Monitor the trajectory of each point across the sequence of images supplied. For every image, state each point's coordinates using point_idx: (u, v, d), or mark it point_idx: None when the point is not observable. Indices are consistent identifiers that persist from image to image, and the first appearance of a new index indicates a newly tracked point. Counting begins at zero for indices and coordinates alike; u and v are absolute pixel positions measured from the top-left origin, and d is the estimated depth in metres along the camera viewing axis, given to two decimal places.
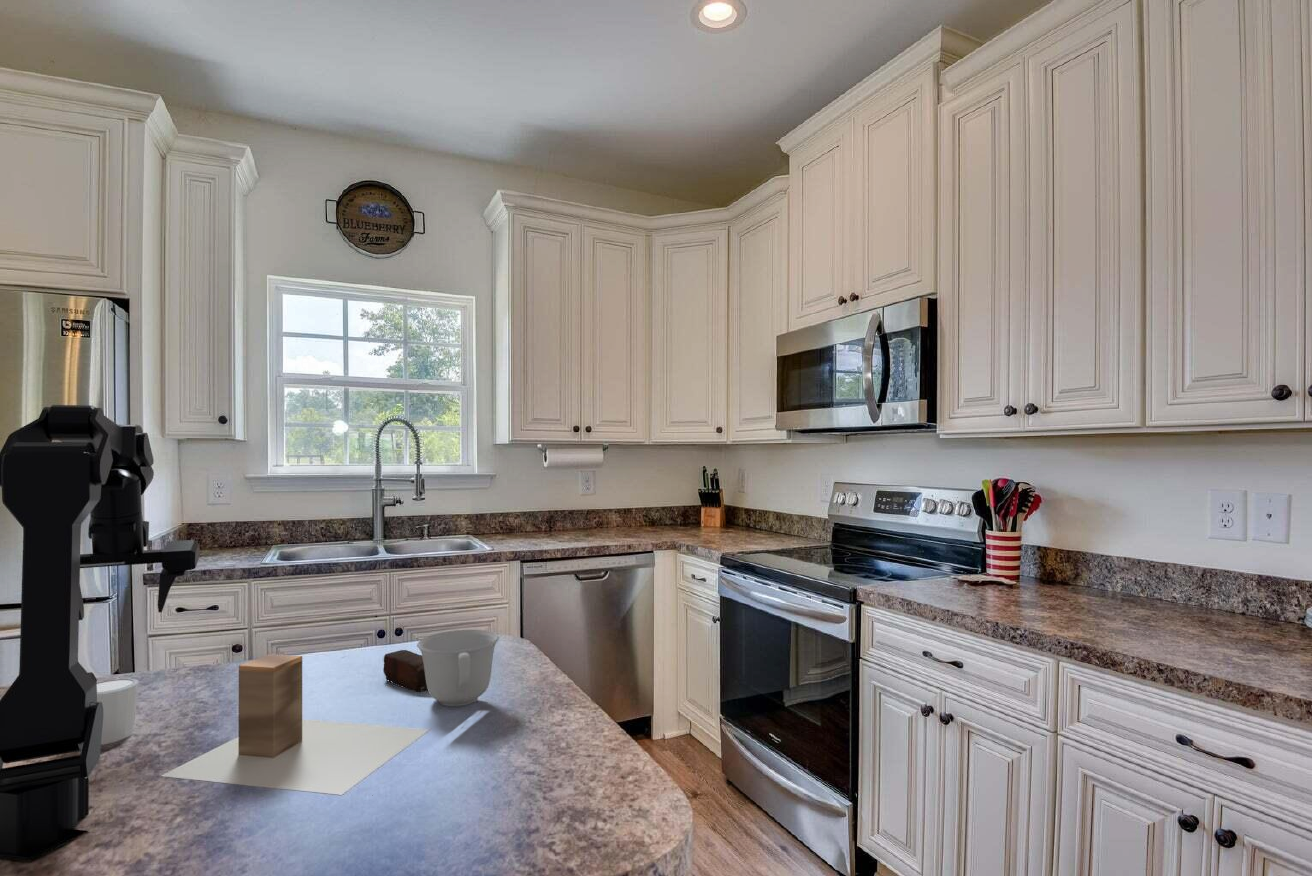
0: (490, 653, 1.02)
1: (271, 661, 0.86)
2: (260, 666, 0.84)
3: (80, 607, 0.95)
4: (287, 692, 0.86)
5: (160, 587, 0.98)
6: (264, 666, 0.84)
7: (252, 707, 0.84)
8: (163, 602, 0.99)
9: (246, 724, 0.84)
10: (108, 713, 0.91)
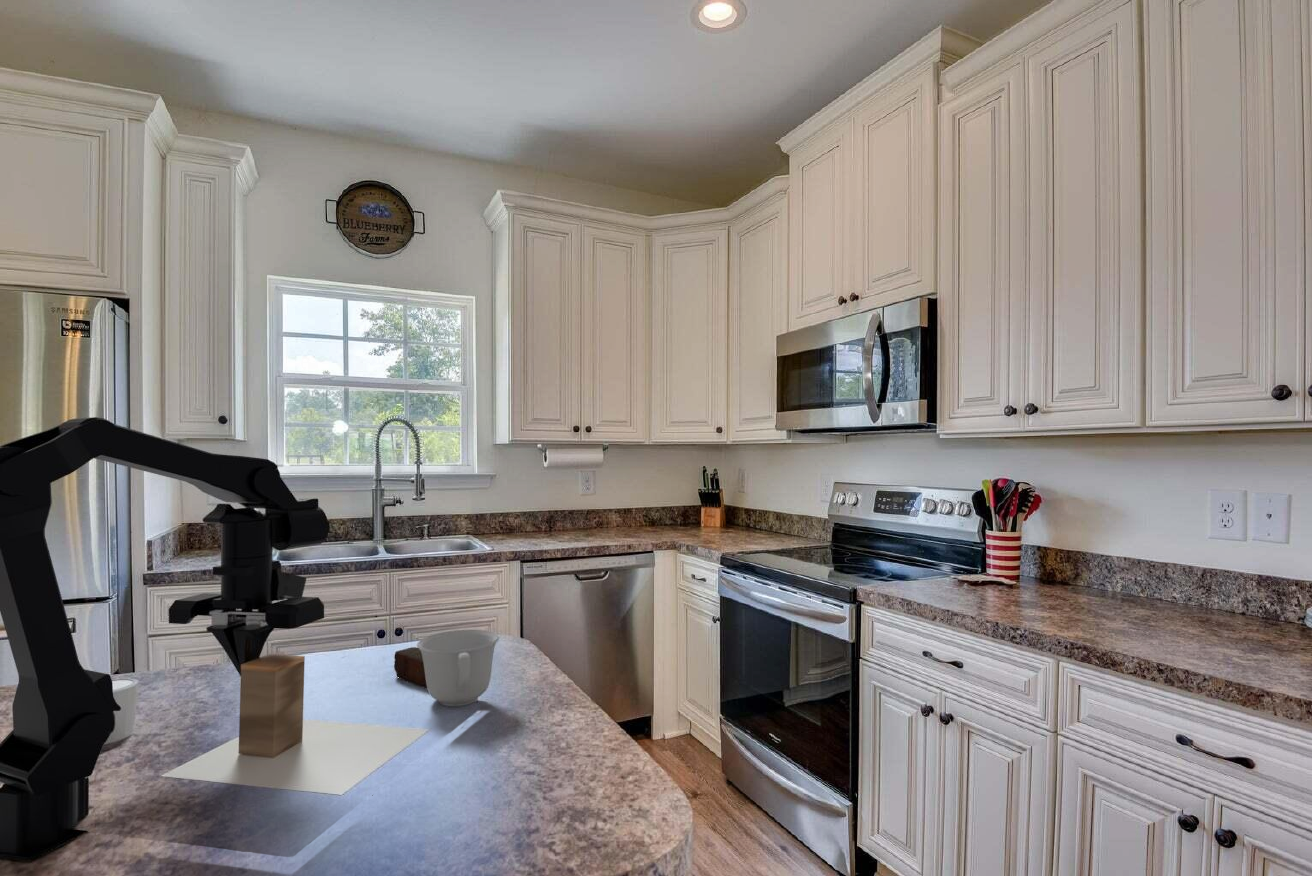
0: (490, 653, 1.02)
1: (273, 661, 0.86)
2: (262, 666, 0.84)
3: None
4: (289, 692, 0.86)
5: (236, 645, 0.85)
6: (266, 666, 0.84)
7: (253, 707, 0.84)
8: None
9: (247, 723, 0.84)
10: None
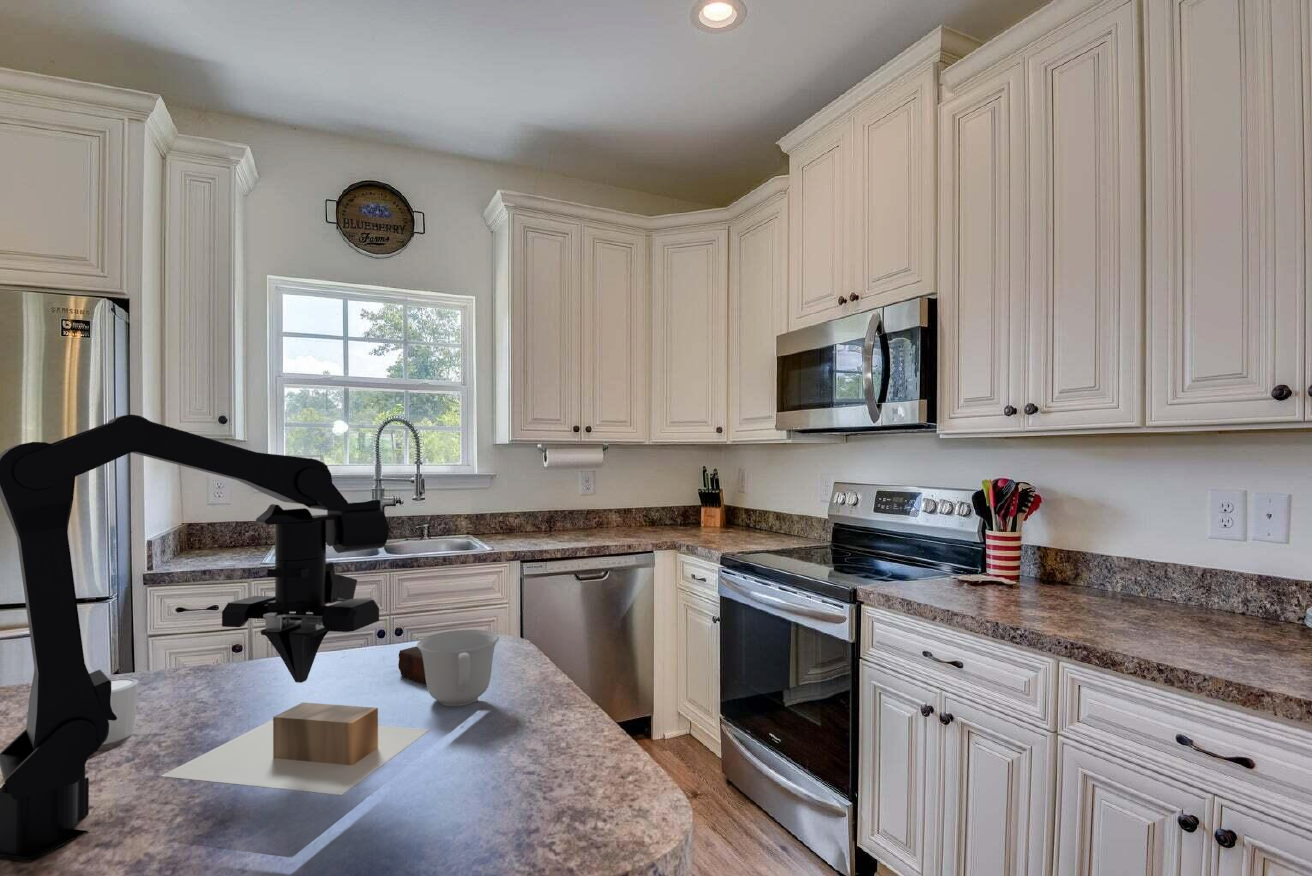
0: (490, 653, 1.02)
1: (364, 739, 0.83)
2: (353, 747, 0.81)
3: None
4: None
5: (292, 649, 0.84)
6: (353, 753, 0.81)
7: (315, 736, 0.82)
8: (299, 669, 0.84)
9: (300, 728, 0.83)
10: None
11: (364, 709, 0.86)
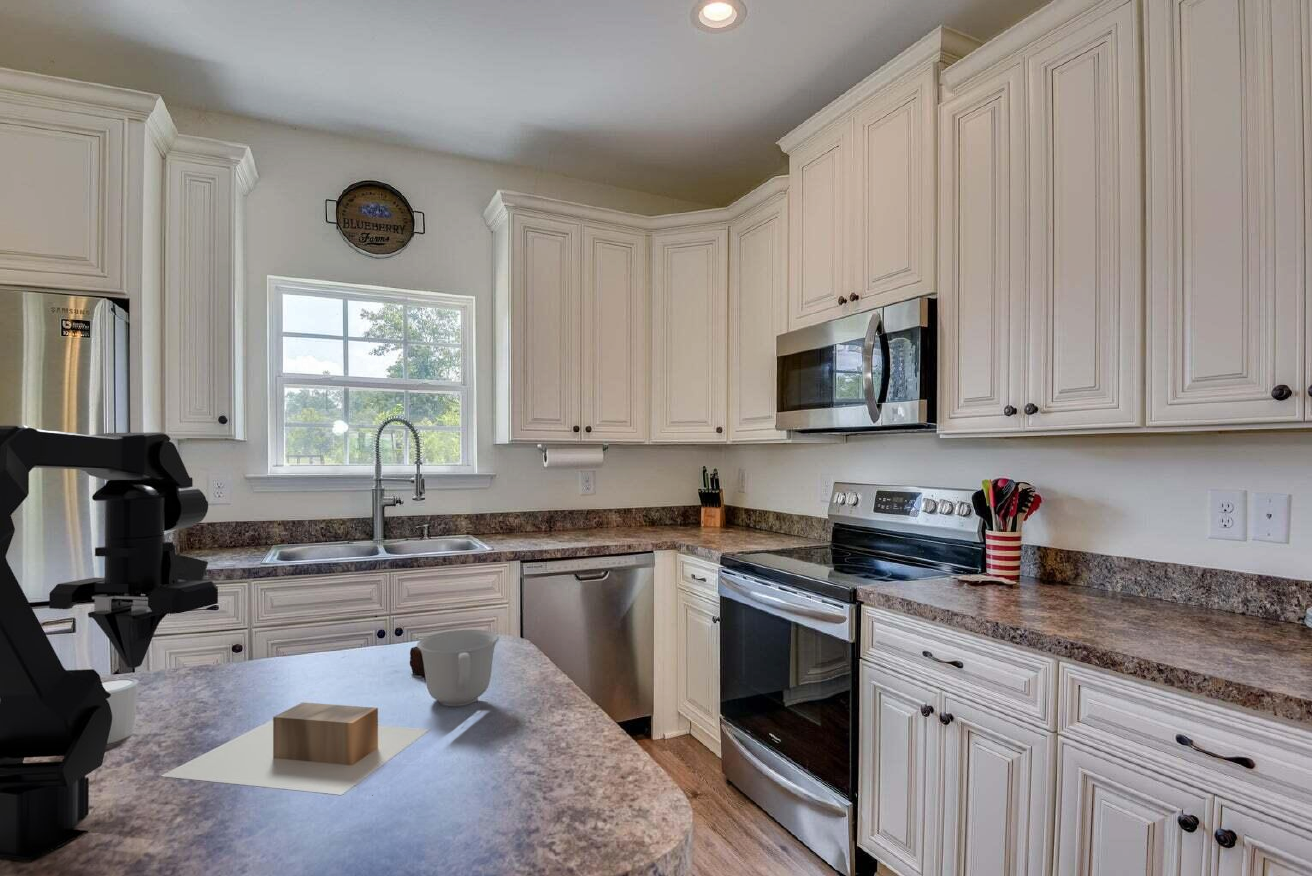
0: (490, 653, 1.02)
1: (364, 739, 0.83)
2: (353, 747, 0.81)
3: None
4: None
5: (120, 632, 0.79)
6: (353, 753, 0.81)
7: (315, 736, 0.82)
8: (129, 654, 0.80)
9: (300, 728, 0.83)
10: None
11: (364, 709, 0.86)
